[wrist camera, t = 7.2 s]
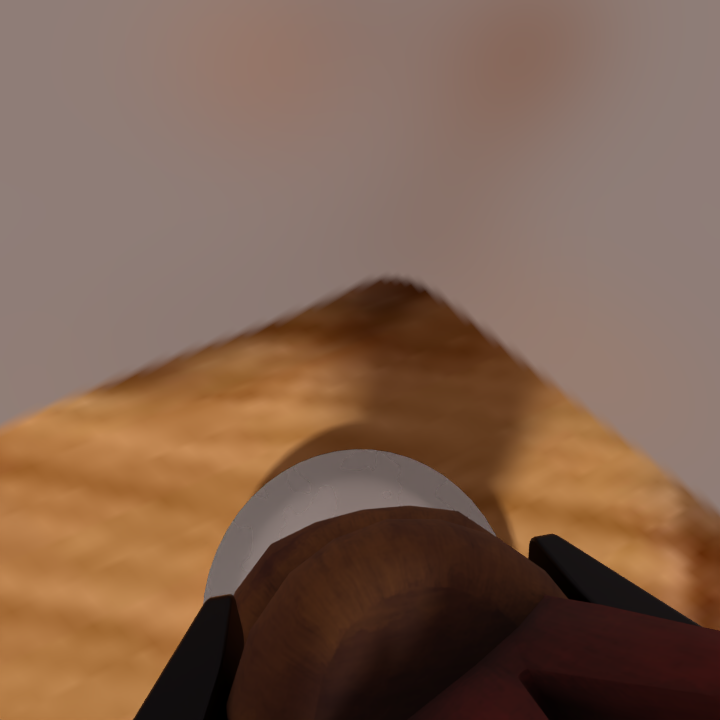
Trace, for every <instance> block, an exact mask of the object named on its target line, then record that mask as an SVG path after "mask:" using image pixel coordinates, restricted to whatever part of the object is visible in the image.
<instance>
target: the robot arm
mask: <svg viewBox="0 0 720 720" xmlns="http://www.w3.org/2000/svg"><path fill="white" fill-rule="evenodd" d="M528 559H529V560H530V561H532V562H533V563H535V564H536V565H538V566H539V567H541V568H542V569H543V570H545V571H546V572H547V574H548V575H549V576H550V577H551V578H552V580H553V581H554V582H555V583H556V584H557V586H558V587H559V588H560V589H561V591H562V592H563V593H564V594H565V596H566V597H567V598H568V599H571V600H576V601H582V602H588V603H594V604H599V605H605V606H609V607H614V608H618V609H623V610H627V611H632V612H636V613H641V614H645V615H650V616H654V617H659V618H663V619H668V620H672V621H677V622H681V623H686V624H691V625H695V626H700V625H698V624H697V623H695V622H693V621H692V620H690V619H689V618H687V617H685V616H684V615H682V614H681V613H679V612H678V611H676V610H674V609H673V608H671V607H670V606H668V605H667V604H665V603H663V602H662V601H660V600H659V599H657V598H655V597H654V596H652V595H651V594H649V593H648V592H646V591H644V590H643V589H641V588H640V587H638V586H637V585H635V584H633V583H632V582H630V581H629V580H627V579H626V578H624V577H622V576H621V575H619V574H618V573H616V572H614V571H613V570H611V569H610V568H608V567H607V566H605V565H603V564H602V563H600V562H599V561H597V560H596V559H594V558H592V557H591V556H589V555H588V554H586V553H584V552H583V551H581V550H580V549H578V548H577V547H575V546H573V545H572V544H570V543H569V542H567V541H566V540H564V539H562V538H561V537H559V536H557V535H555V534H547V535H542V536H536V537H533V538H532V539H531V541H530V544H529V557H528ZM700 627H701V626H700ZM243 650H244V635H243V628H242V624H241V620H240V616H239V612H238V608H237V604H236V600H235V597H234V596H233V595H232V594H226V595H220V596H215V597H210V598H209V599H207V600H206V601H205V603H204V604H203V606H202V608H201V609H200V611H199V613H198V614H197V616H196V617H195V619H194V621H193V622H192V624H191V626H190V627H189V629H188V631H187V632H186V634H185V636H184V637H183V639H182V640H181V642H180V644H179V645H178V647H177V649H176V650H175V652H174V654H173V655H172V657H171V658H170V660H169V662H168V663H167V665H166V667H165V668H164V670H163V672H162V673H161V675H160V677H159V678H158V680H157V681H156V683H155V685H154V686H153V688H152V690H151V691H150V693H149V695H148V696H147V698H146V699H145V701H144V703H143V704H142V706H141V708H140V709H139V711H138V713H137V714H136V716H135V718H134V719H133V720H227V710H226V703H227V700H228V697H229V694H230V691H231V688H232V685H233V681H234V678H235V675H236V672H237V669H238V666H239V663H240V659H241V656H242V653H243Z"/></svg>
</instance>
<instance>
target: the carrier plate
mask: <svg viewBox="0 0 720 720" xmlns="http://www.w3.org/2000/svg"><path fill="white" fill-rule="evenodd" d="M409 505H410V506H419V507H427V508H436V509H444V510H453V511H459V512H460V513H462V514H463V515H465V516H466V517H468V518H469V519H471V520H472V521H474V522H475V523H477V524H478V525H480V526H481V527H483V528H484V529H486V530H487V531H489V532H490V533H491V534H493V535H494V536H496V535H495V533H494V531H493V530H492V528H491V526H490V525H489V523H488V521H487V520H486V518H485V517H484V515H483V514H482V513H481V512H480V510H479V509H478V508H477V506H476V505H475V504H474V503H473V501H472V500H471V499H470V498H469V497H468V496H467V495H466V494H465V493H464V492H463V491H462V490H461V489H460V488H459V487H458V486H456V485H455V484H454V483H452V482H451V481H450V480H449V479H447V478H446V477H445V476H443V475H442V474H440V473H439V472H437V471H435V470H434V469H432V468H430V467H429V466H427V465H425V464H422V463H420V462H418V461H416V460H413V459H411V458H408V457H405V456H402V455H398V454H395V453H391V452H385V451H378V450H366V449H352V450H343V451H335V452H331V453H327V454H322V455H318V456H315V457H313V458H310V459H308V460H305V461H302V462H300V463H298V464H296V465H294V466H292V467H291V468H289V469H287V470H285V471H283V472H282V473H280V474H279V475H277V476H276V477H275V478H273V479H272V480H271V481H269V482H268V483H266V484H265V485H264V486H263V487H262V488H261V489H260V490H259V491H258V492H257V493H256V494H255V495H253V496H252V497H251V499H250V500H249V501H248V502H247V503H246V504H245V506H244V507H243V508H242V509H241V510H240V512H239V513H238V514H237V516H236V517H235V519H234V520H233V522H232V523H231V525H230V526H229V528H228V529H227V531H226V533H225V535H224V537H223V539H222V541H221V543H220V545H219V547H218V549H217V552H216V554H215V557H214V560H213V563H212V566H211V568H210V571H209V576H208V580H207V584H206V589H205V593H204V602H203V604H204V603H205V601H206V600H207V599H209V598H210V597H215V596H220V595H226V594H232V595H233V596H234V593H235V591H236V590H237V588H238V587H239V586H240V584H241V583H242V582H243V580H244V579H245V578H246V576H247V575H248V574H249V572H250V571H251V570H252V568H253V567H254V566H255V564H256V563H257V562H258V560H259V559H260V558H261V556H262V555H263V554H264V552H265V551H266V550H267V548H268V547H269V546H270V545H271V544H272V543H274V542H276V541H278V540H280V539H282V538H284V537H286V536H288V535H290V534H292V533H294V532H297V531H299V530H301V529H303V528H305V527H307V526H309V525H311V524H313V523H315V522H318V521H322V520H325V519H329V518H333V517H337V516H340V515H344V514H348V513H352V512H355V511H359V510H363V509H375V508H386V507H398V506H409Z"/></svg>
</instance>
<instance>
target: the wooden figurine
mask: <svg viewBox="0 0 720 720" xmlns="http://www.w3.org/2000/svg"><path fill="white" fill-rule="evenodd" d="M234 597H235V600H236V604H237V608H238V612H239V616H240V620H241V624H242V628H243V635H244V650H243V653H242V656H241V659H240V663H239V666H238V669H237V672H236V675H235V678H234V681H233V685H232V688H231V691H230V694H229V697H228V700H227V703H226V710H227V720H720V631H718V630H713V629H709V628H704V627H700V626H695V625H691V624H686V623H681V622H677V621H672V620H668V619H663V618H659V617H654V616H650V615H645V614H641V613H636V612H632V611H627V610H623V609H618V608H614V607H609V606H605V605H599V604H594V603H588V602H582V601H576V600H571V599H568V598H567V597H566V596H565V594H564V593H563V592H562V591H561V589H560V588H559V587H558V586H557V584H556V583H555V582H554V581H553V580H552V578H551V577H550V576H549V575H548V574H547V572H546V571H545V570H543V569H542V568H541V567H539V566H538V565H536V564H535V563H533V562H532V561H530V560H529V559H528V558H526V557H525V556H523V555H522V554H520V553H519V552H517V551H516V550H514V549H513V548H512V547H510V546H509V545H507V544H506V543H504V542H503V541H502V540H500V539H499V538H497V537H496V536H494V535H493V534H491V533H490V532H489V531H487V530H486V529H484V528H483V527H481V526H480V525H478V524H477V523H475V522H474V521H472V520H471V519H469V518H468V517H466V516H465V515H463V514H462V513H460V512H459V511H453V510H444V509H436V508H427V507H419V506H410V505H409V506H398V507H386V508H375V509H363V510H359V511H355V512H352V513H348V514H344V515H340V516H337V517H333V518H329V519H325V520H322V521H318V522H315V523H313V524H311V525H309V526H307V527H305V528H303V529H301V530H299V531H297V532H294V533H292V534H290V535H288V536H286V537H284V538H282V539H280V540H278V541H276V542H274V543H272V544H271V545H270V546H269V547H268V548H267V550H266V551H265V552H264V554H263V555H262V556H261V558H260V559H259V560H258V562H257V563H256V564H255V566H254V567H253V568H252V570H251V571H250V572H249V574H248V575H247V576H246V578H245V579H244V580H243V582H242V583H241V584H240V586H239V587H238V588H237V590H236V591H235V593H234Z"/></svg>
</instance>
